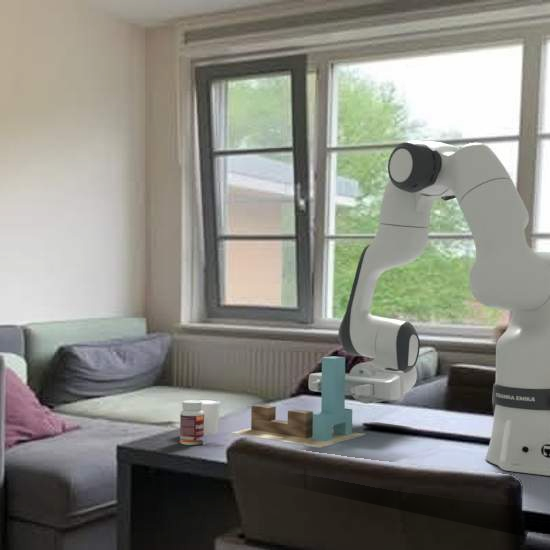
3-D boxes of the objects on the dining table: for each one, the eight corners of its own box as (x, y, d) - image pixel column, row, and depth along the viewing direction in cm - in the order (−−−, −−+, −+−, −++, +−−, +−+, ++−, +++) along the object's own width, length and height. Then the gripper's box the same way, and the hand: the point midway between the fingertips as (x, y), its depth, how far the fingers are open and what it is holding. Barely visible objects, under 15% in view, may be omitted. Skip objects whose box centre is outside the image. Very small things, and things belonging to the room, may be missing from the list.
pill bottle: (199, 446, 155) (200, 403, 155) (176, 444, 156) (177, 402, 156) (206, 441, 160) (207, 400, 160) (184, 440, 161) (184, 399, 161)
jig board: (366, 441, 162) (366, 409, 162) (319, 455, 148) (320, 421, 148) (280, 427, 175) (281, 398, 175) (231, 439, 161) (231, 408, 161)
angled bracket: (351, 433, 162) (353, 356, 162) (325, 441, 154) (326, 359, 154) (339, 431, 164) (340, 355, 164) (312, 439, 156) (313, 358, 156)
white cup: (200, 430, 171) (200, 398, 171) (226, 433, 168) (226, 400, 168) (181, 435, 165) (181, 402, 165) (208, 439, 162) (208, 405, 162)
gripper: (328, 364, 176) (292, 369, 165) (410, 371, 164) (377, 377, 153) (328, 392, 176) (292, 399, 165) (410, 401, 164) (376, 410, 153)
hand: (333, 388), depth 159 cm, fingers open, 8 cm apart
